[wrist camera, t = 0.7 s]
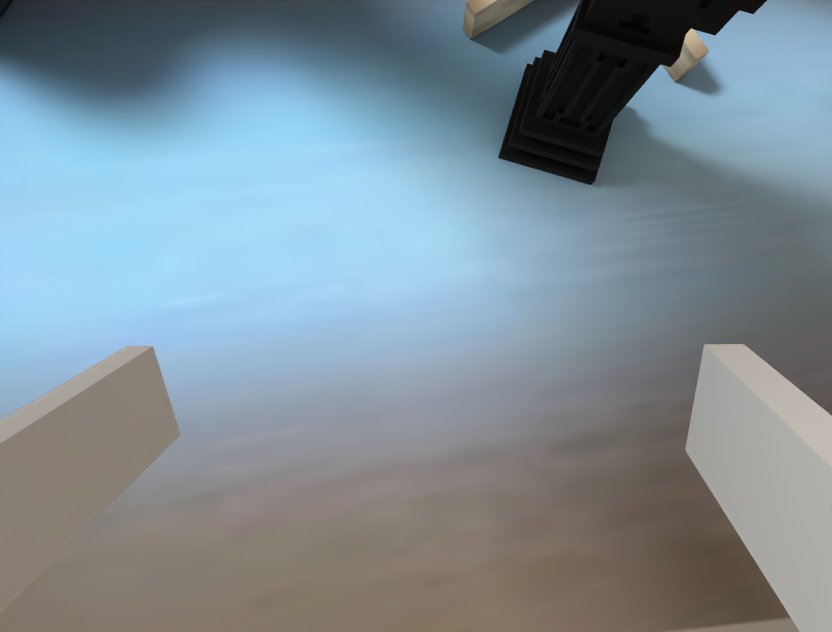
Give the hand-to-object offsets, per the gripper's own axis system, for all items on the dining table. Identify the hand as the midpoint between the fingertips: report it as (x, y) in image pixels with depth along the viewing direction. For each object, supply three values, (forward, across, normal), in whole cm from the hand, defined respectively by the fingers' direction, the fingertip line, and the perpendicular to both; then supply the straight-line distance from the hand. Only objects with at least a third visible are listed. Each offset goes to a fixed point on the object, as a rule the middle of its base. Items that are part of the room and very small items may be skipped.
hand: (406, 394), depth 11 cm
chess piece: (+33, +8, +6) cm, 35 cm away
